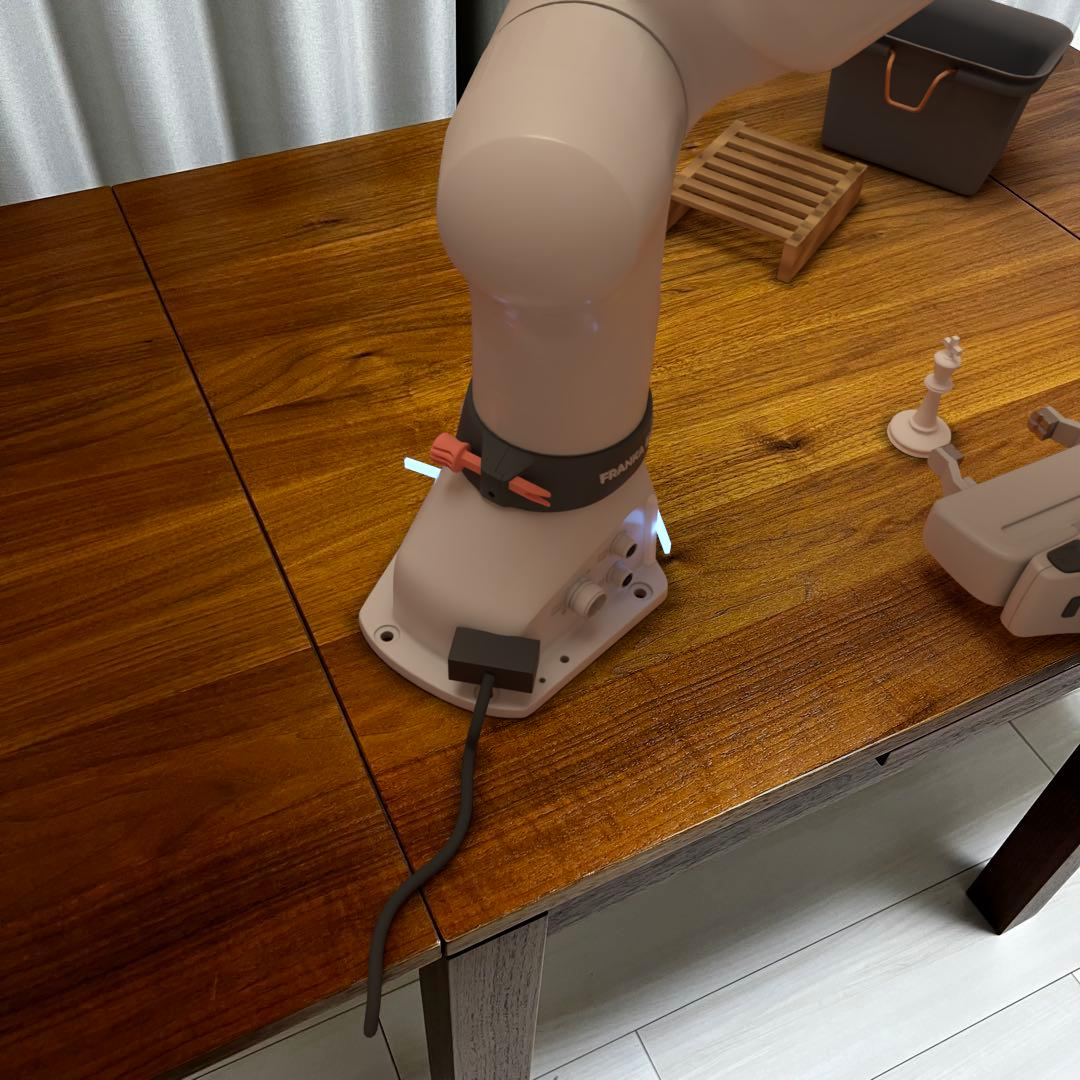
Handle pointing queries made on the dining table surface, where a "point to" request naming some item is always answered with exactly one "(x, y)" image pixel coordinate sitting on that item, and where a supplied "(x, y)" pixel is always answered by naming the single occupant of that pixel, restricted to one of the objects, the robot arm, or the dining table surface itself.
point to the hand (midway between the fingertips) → (987, 433)
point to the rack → (807, 232)
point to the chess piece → (928, 408)
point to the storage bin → (943, 90)
